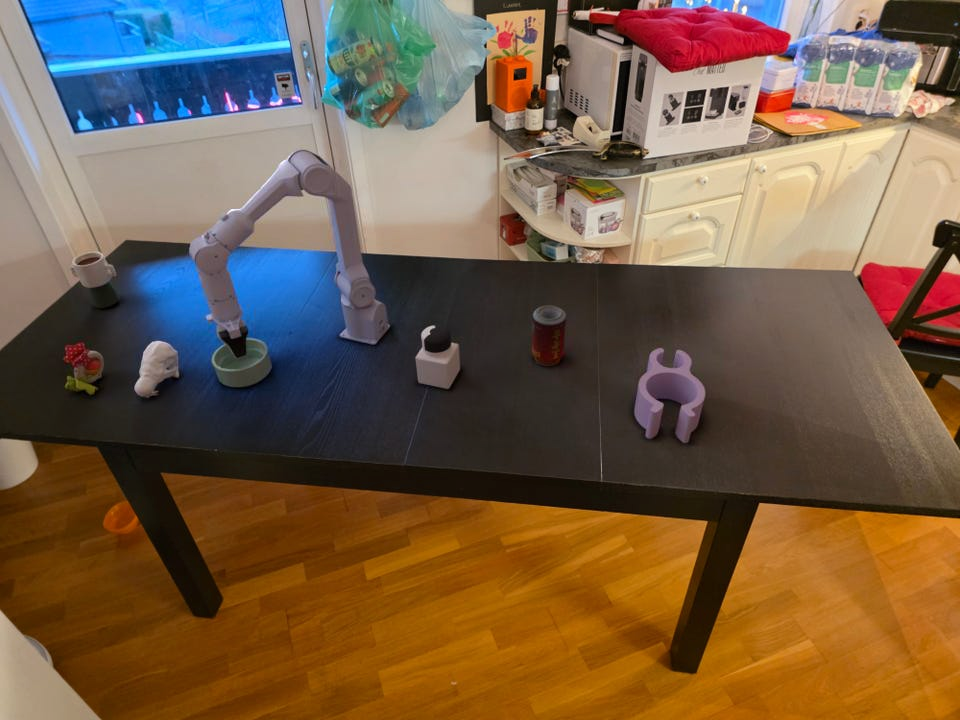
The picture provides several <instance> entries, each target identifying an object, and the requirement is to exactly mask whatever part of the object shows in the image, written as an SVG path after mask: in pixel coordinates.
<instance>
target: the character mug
mask: <svg viewBox="0 0 960 720" xmlns="http://www.w3.org/2000/svg"><path fill="white" fill-rule="evenodd" d="M69 270H70V272H71V274H72V275H73V277H75V278H78V279H79V281H80V283H81V285H82V286H83V287H85V288H88V292H89V295H90V299H91V302H92V304H93V306H94V307H95V308H98V309H105V308H109V307H111V306H113V305H116V303H118V302H119V301H120V300H121V297H120V295H119V293H118V292H117V290H116V288H115V286H114V285H113V284H112V282H111V280H112V278H115V277H116V276H117V272H116V269H115V266H114V265H113V264H109V263H108V262H107V260H106V257H105V256H104V253H102V252H100V251H87V252H85V253H82V254H79V255H77V256H75V257H74V258H73V259H72V261H71V264H70V265H69Z"/></svg>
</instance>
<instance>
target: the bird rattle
mask: <svg viewBox="0 0 960 720" xmlns="http://www.w3.org/2000/svg"><path fill="white" fill-rule="evenodd" d="M64 349H65V352H66V354H65V356H64V357H63V358H62V359H63V361H64V362H65V363H67V364H72V366H73V375H74V377H72V376H71V375H68V376H67V377H66V380H67V382H66V384H65V385H64V388H65V389H66V390H70V391H75V392H81V391H83V390H85V391H86V393H88V394H89V395H94V394H95V392H96V391H99V388H98V387H97V386H94V385H92V384H91V383H93V382H95V381H97V380H98V379H101V378H102V377H103V375H102V373H103V371H104V367H105V360H104V357H103V355H102V353H100V352H98V351H96V350H90V349H86V345H85V344H84V342H78V343H76V344H75V345H70V344H67V345H65V347H64Z"/></svg>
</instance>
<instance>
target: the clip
mask: <svg viewBox="0 0 960 720" xmlns="http://www.w3.org/2000/svg"><path fill="white" fill-rule="evenodd" d="M664 353H665V349H664V348H662V347H659V348H655V349H654V350H652V352H650V354H649V358H648V362H647V369H646V372H645V373H644V374H643V375H642V376H641V377H640V378H639V380H638V386H637V392H636V398H635V404H634V409H633V413H634V416H635V419H636V422H638V424H639V425H640V426H641V427H642V428H643V429H645V430H646V431H645V438H647V439H649V440H652V439H653V438H654V437H656V436H657V435H658V433H659V430H660V426H661V425H660V424H661V418H662V417H663V411H664V403H663V402H662V401H659V399H663V400H671V401H674V402H677V403H679V404H681V406H680V409H679V415H678V419H677V424H676V428H675V431H674V434H675V436H676V438H677V439H679V441H681V442H682V443H683V444H687V443H689V441H690V438H691V433H692V432H694V431H695V430H696V429H697V427H698V425H699V422H700V418H701V414H702V409H703V407H704V402H705V398H706V389H705V386H704V385H703V383H702V382H701V381H700V380H699V379H698V378H697V377H696V376H694V375H693V374H692V373H691V367H692V364H693V363H692V358H691V357H690V355H689V354H688V353H687V352H685V351H683V350H682V349H677V350H676V351H675V356H674V360H673V366H672V367H666V366H664V365H662V364H663V359H664Z"/></svg>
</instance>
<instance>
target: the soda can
mask: <svg viewBox="0 0 960 720" xmlns="http://www.w3.org/2000/svg"><path fill="white" fill-rule="evenodd" d="M566 322H567V314H566V312H565V310H563V309H562V308H560V307H558V306H556V305H548V304H547V305H543V306H540V307H538V308H536V309H535V310H534V311H533V313H532V327H531V328H532V329H531V331H532V334H531V353H532V356H533V357H534V360H535V362H536V363H537V364H539V365H541V366H547V367H549V366H550V367H551V366H554V365H557V364H559V363H560V361H561V358H563V356H564V353H565V340H566V325H567V323H566Z"/></svg>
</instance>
